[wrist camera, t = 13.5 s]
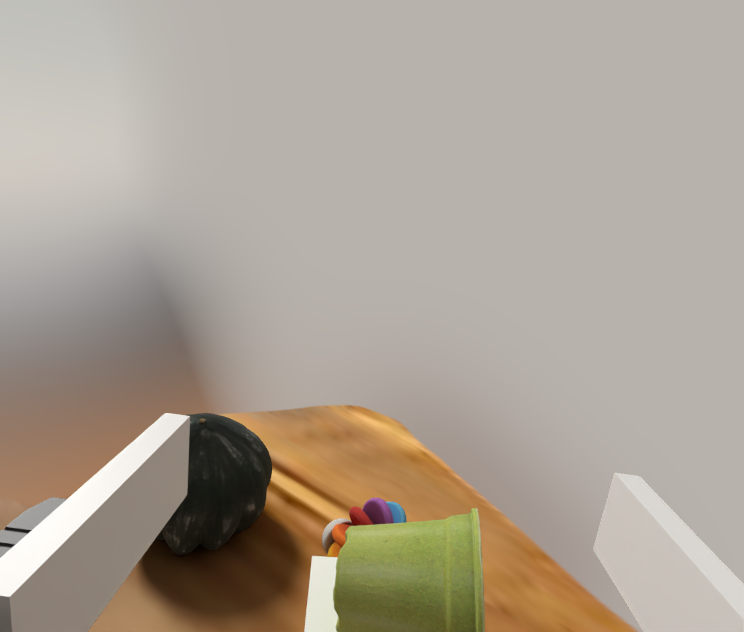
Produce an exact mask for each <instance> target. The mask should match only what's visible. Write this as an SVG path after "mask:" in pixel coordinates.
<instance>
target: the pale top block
mask: <svg viewBox="0 0 744 632" xmlns="http://www.w3.org/2000/svg"><path fill="white" fill-rule="evenodd" d="M337 558H338V557H321V556H312V564H311V573H310V583H309V592H308V602H307V611H306V621H305V630H304V632H337V631H336V624H337V620H338V615H337V613H336V611H335V609H334V601H333V589H334V586H335V577H336V563H337Z"/></svg>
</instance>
